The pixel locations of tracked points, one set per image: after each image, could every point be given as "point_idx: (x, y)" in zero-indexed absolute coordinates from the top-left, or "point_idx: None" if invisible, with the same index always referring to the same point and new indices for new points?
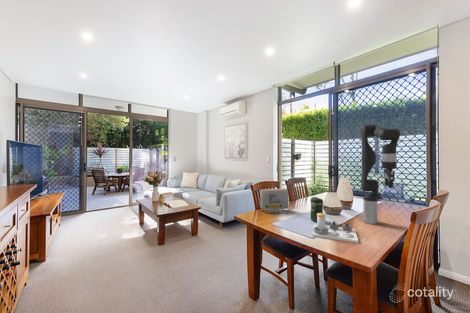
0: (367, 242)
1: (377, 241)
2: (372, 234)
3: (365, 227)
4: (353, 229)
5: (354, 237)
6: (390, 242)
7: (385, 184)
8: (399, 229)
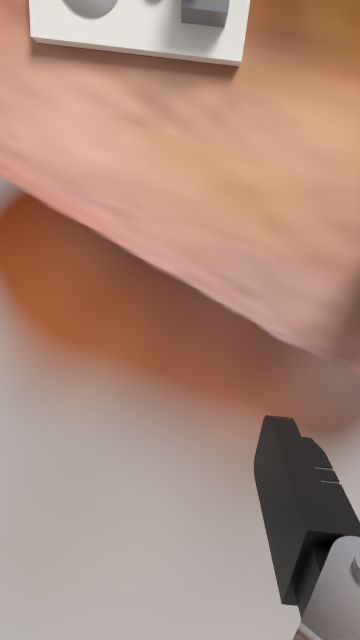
0: (71, 105)
1: (108, 169)
2: (210, 173)
3: (328, 164)
4: (231, 48)
5: (76, 19)
6: (119, 233)
7: (270, 429)
8: (322, 342)
